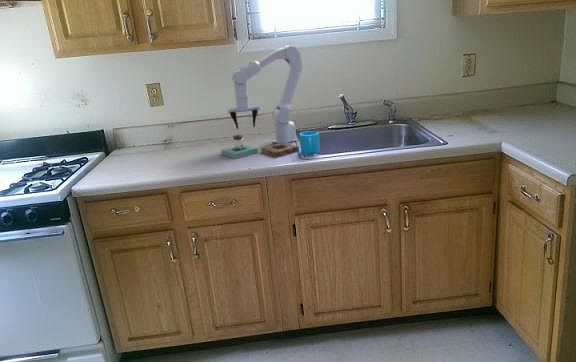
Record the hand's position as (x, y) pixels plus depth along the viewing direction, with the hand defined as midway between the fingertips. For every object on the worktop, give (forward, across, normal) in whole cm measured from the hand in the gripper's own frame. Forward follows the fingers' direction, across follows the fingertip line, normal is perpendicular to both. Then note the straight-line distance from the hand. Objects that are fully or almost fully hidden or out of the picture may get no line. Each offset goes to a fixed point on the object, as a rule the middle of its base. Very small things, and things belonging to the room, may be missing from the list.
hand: (245, 127), depth 208 cm
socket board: (+9, -4, -9) cm, 14 cm away
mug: (+10, +26, -22) cm, 36 cm away
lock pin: (+9, -4, -9) cm, 14 cm away
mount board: (+9, +14, -14) cm, 22 cm away
